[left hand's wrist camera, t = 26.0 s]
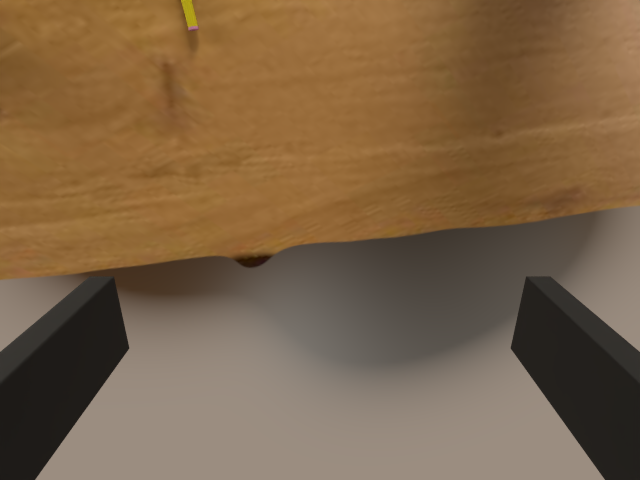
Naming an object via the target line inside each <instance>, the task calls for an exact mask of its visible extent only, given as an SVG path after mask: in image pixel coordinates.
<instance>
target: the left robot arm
mask: <svg viewBox="0 0 640 480" xmlns="http://www.w3.org/2000/svg"><path fill="white" fill-rule="evenodd" d="M128 349H129V345H128V340H127V336H126V331H125V326H124V322H123V317H122V312H121V308H120V303H119V298H118V294H117V289H116V285H115V280H114V277H89V278H88V279H86V280H85V281H84V282H83V283H82V284H80V285H79V286H78V287H77V288H76V289H74V290H73V291H72V292H71V293H70V294H69V295H67V296H66V297H65V298H64V299H63V300H61V301H60V302H59V303H58V304H57V305H55V306H54V307H53V308H52V309H51V310H50V311H48V312H47V313H46V314H45V315H44V316H42V317H41V318H40V319H39V320H38V321H37V322H35V323H34V324H33V325H32V326H31V327H29V328H28V329H27V330H26V331H25V332H23V333H22V334H21V335H20V336H19V337H18V338H16V339H15V340H14V341H13V342H12V343H10V344H9V345H8V346H7V347H6V348H4V349H3V350H2V351H1V352H0V480H35V479H36V478H37V476H38V475H39V473H40V472H41V471H42V469H43V468H44V466H45V465H46V464H47V462H48V461H49V459H50V458H51V457H52V455H53V454H54V452H55V451H56V450H57V448H58V447H59V446H60V444H61V443H62V441H63V440H64V439H65V437H66V436H67V434H68V433H69V432H70V430H71V429H72V427H73V426H74V425H75V423H76V422H77V420H78V419H79V418H80V416H81V415H82V413H83V412H84V411H85V409H86V408H87V407H88V405H89V404H90V402H91V401H92V400H93V398H94V397H95V395H96V394H97V393H98V391H99V390H100V388H101V387H102V386H103V384H104V383H105V381H106V380H107V379H108V377H109V376H110V374H111V373H112V372H113V370H114V369H115V367H116V366H117V365H118V363H119V362H120V360H121V359H122V358H123V356H124V355H125V354H126V352H127V351H128ZM511 349H512V351H513V352H514V353H515V355H516V356H517V358H518V359H519V361H520V362H521V363H522V365H523V366H524V367H525V369H526V370H527V372H528V373H529V374H530V376H531V377H532V379H533V380H534V381H535V383H536V384H537V386H538V387H539V388H540V390H541V391H542V393H543V394H544V395H545V397H546V398H547V400H548V401H549V402H550V404H551V405H552V406H553V408H554V409H555V411H556V412H557V413H558V415H559V416H560V418H561V419H562V420H563V422H564V423H565V425H566V426H567V427H568V429H569V430H570V431H571V433H572V434H573V436H574V437H575V439H576V440H577V441H578V443H579V444H580V446H581V447H582V448H583V450H584V451H585V452H586V454H587V455H588V457H589V458H590V459H591V461H592V462H593V464H594V465H595V466H596V468H597V469H598V471H599V472H600V473H601V475H602V476H603V477H604V479H605V480H640V352H639V351H638V350H637V349H635V348H634V347H633V346H632V345H631V344H630V343H628V342H627V341H626V340H625V339H624V338H622V337H621V336H620V335H619V334H618V333H616V332H615V331H614V330H613V329H612V328H611V327H609V326H608V325H607V324H606V323H605V322H604V321H602V320H601V319H600V318H599V317H598V316H596V315H595V314H594V313H593V312H592V311H590V310H589V309H588V308H587V307H586V306H585V305H583V304H582V303H581V302H580V301H579V300H577V299H576V298H575V297H574V296H573V295H571V294H570V293H569V292H568V291H567V290H566V289H564V288H563V287H562V286H561V285H560V284H558V283H557V282H556V281H555V280H554V279H552V278H551V277H526V280H525V285H524V289H523V294H522V298H521V303H520V308H519V312H518V317H517V322H516V326H515V331H514V335H513V340H512V345H511Z"/></svg>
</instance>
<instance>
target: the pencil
mask: <svg viewBox="0 0 640 480" xmlns="http://www.w3.org/2000/svg"><path fill="white" fill-rule="evenodd" d="M181 2H182V5H183V9H184V13H185V17H186V21H187V25H188V29H189V31H194V30H198V29H199V28H198V24H197V20H196V16H195V12H194V8H193V4H192V0H181Z"/></svg>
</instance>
